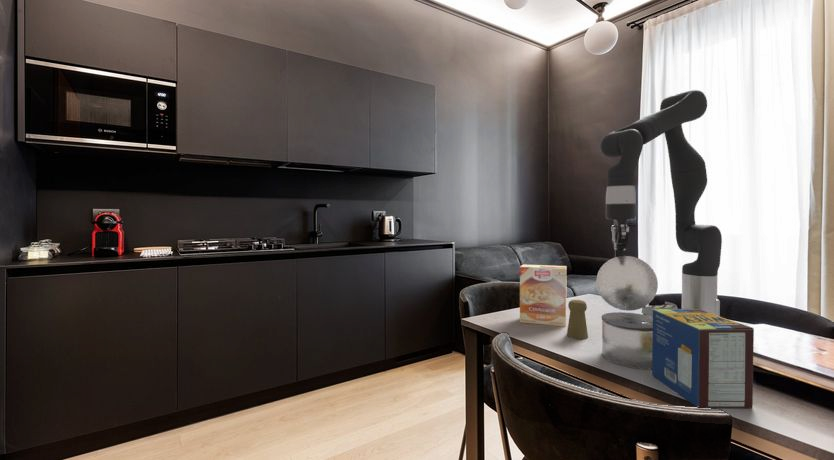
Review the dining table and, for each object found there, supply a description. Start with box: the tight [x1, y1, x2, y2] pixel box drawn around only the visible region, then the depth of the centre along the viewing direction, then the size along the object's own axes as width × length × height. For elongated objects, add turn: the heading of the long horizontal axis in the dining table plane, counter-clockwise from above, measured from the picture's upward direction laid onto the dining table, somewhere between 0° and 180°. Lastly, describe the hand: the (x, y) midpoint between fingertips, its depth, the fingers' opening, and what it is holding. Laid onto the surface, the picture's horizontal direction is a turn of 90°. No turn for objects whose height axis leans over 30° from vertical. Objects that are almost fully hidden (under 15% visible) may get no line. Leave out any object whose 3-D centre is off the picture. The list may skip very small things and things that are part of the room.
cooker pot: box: [601, 311, 653, 370], centre depth 98 cm, size 14×14×10 cm
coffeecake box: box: [519, 263, 568, 328], centre depth 131 cm, size 15×7×20 cm, turn 67°
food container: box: [641, 301, 679, 317], centre depth 112 cm, size 12×6×10 cm, turn 117°
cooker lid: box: [596, 255, 659, 312], centre depth 106 cm, size 15×15×3 cm
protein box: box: [651, 308, 755, 409], centre depth 80 cm, size 10×15×16 cm
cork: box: [566, 299, 589, 340], centre depth 116 cm, size 6×6×11 cm
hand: (619, 263), depth 109 cm, fingers closed
